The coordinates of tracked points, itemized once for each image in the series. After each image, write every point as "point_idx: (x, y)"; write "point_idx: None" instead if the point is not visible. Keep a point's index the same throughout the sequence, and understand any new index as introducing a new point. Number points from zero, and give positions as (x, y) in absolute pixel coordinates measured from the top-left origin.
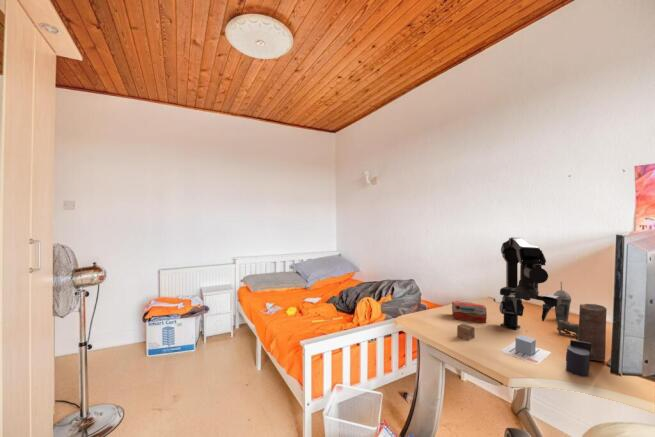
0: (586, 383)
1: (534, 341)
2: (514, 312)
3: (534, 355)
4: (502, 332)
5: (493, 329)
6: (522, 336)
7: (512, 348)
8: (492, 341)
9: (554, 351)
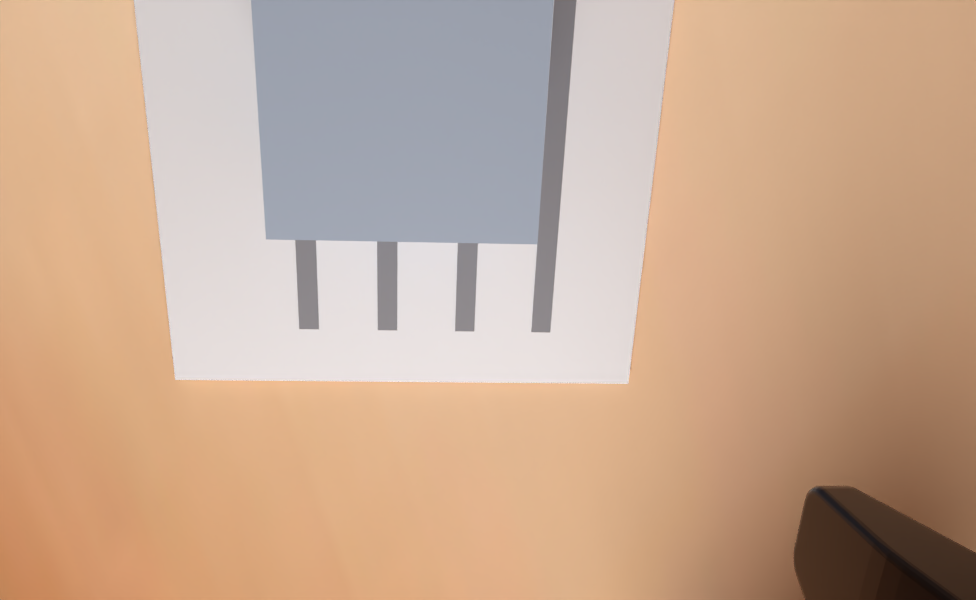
0: None
1: (267, 170)
2: (866, 514)
3: None
4: None
5: None
6: (484, 190)
7: (584, 24)
8: (891, 78)
9: (180, 464)
